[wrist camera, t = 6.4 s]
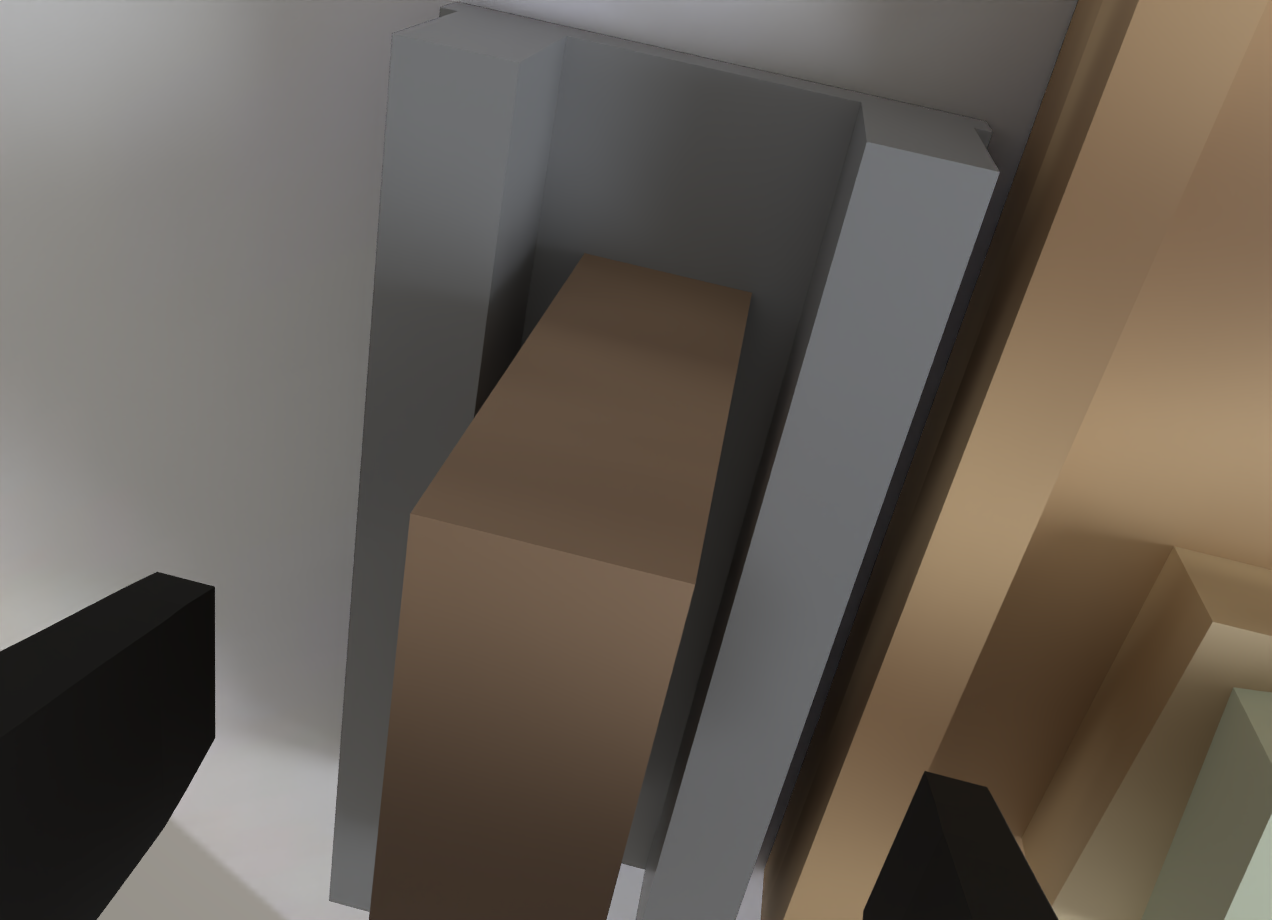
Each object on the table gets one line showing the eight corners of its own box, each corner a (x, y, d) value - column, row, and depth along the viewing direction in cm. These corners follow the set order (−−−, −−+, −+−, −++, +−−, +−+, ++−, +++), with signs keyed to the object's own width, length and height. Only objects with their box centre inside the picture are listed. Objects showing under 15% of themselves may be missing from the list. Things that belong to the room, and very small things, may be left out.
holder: (734, 862, 18) (719, 1006, 15) (381, 769, 18) (315, 896, 16) (985, 120, 12) (1021, 178, 10) (457, 2, 12) (371, 29, 10)
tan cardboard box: (626, 783, 16) (530, 1204, 11) (499, 751, 17) (345, 1152, 11) (751, 293, 13) (695, 584, 7) (584, 253, 13) (410, 512, 7)
